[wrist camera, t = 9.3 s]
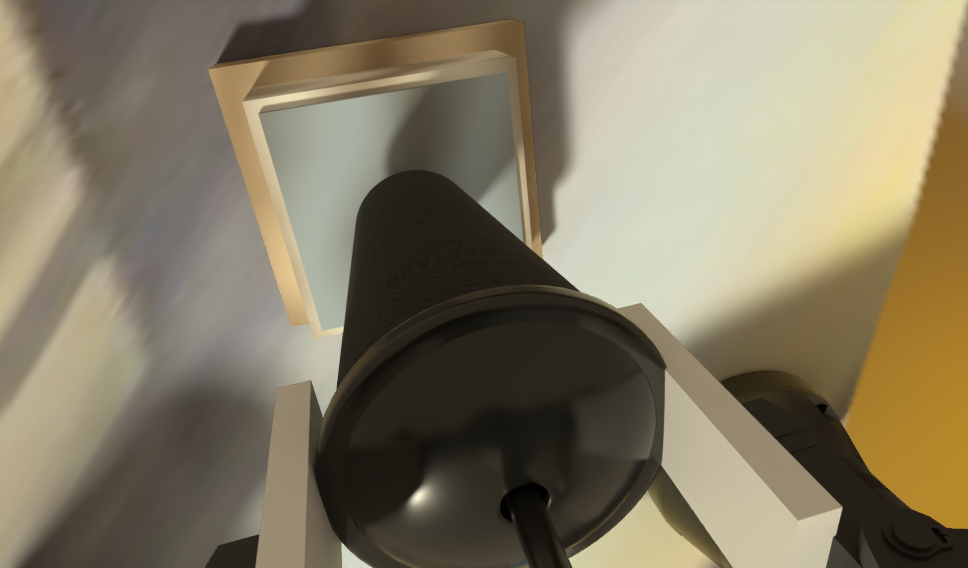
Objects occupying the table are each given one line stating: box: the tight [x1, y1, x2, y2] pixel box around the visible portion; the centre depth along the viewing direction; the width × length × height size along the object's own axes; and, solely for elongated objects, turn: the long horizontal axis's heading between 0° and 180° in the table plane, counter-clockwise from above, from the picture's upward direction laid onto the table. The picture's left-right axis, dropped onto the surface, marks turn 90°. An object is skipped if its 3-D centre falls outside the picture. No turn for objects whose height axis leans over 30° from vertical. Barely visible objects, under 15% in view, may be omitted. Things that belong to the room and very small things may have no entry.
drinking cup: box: [315, 170, 667, 568], centre depth 15 cm, size 8×8×20 cm
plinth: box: [208, 19, 543, 339], centre depth 29 cm, size 14×13×6 cm
